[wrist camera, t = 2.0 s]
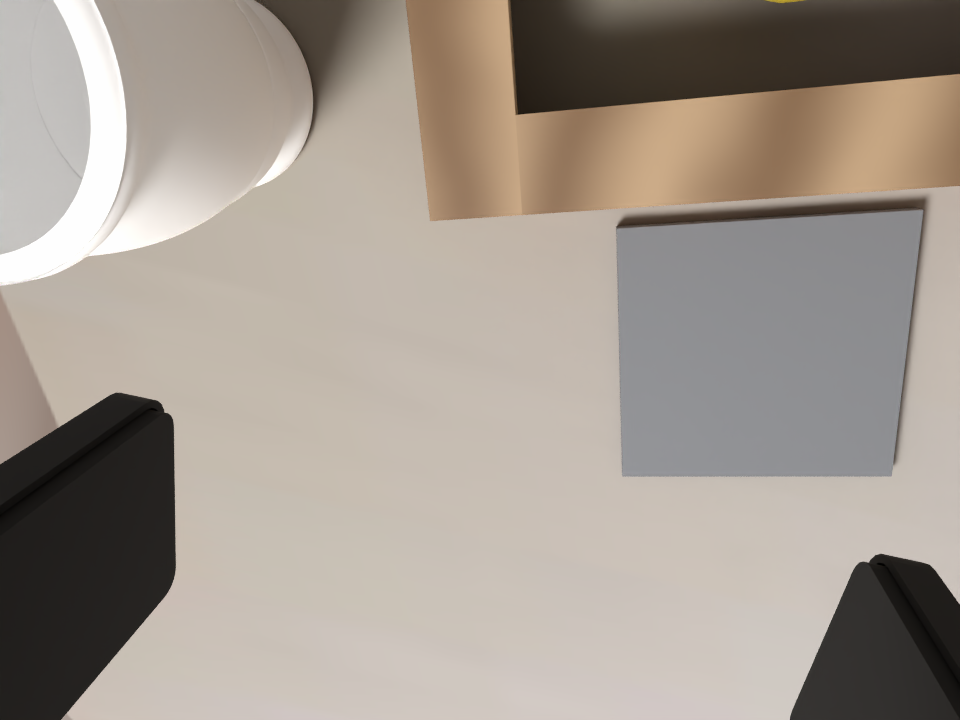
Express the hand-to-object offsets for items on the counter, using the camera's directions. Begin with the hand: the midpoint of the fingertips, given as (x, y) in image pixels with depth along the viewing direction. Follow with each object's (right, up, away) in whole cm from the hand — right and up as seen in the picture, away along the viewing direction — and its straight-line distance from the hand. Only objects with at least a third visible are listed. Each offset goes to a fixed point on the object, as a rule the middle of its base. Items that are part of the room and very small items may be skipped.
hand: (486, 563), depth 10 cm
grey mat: (+12, +3, +22) cm, 25 cm away
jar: (-11, +15, +22) cm, 29 cm away
